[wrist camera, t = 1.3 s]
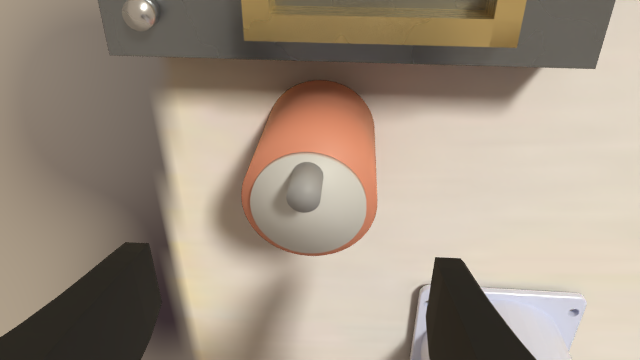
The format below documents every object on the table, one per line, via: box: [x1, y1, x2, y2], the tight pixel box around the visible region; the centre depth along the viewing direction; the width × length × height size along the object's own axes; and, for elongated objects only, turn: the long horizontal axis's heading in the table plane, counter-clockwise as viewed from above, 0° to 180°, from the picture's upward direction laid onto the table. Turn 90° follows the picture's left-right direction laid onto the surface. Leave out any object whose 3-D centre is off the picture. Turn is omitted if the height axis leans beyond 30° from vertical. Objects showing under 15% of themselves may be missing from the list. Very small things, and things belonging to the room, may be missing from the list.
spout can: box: [241, 80, 377, 256], centre depth 18 cm, size 4×4×7 cm
